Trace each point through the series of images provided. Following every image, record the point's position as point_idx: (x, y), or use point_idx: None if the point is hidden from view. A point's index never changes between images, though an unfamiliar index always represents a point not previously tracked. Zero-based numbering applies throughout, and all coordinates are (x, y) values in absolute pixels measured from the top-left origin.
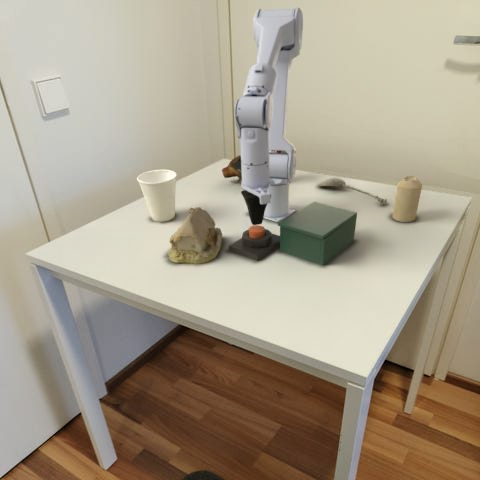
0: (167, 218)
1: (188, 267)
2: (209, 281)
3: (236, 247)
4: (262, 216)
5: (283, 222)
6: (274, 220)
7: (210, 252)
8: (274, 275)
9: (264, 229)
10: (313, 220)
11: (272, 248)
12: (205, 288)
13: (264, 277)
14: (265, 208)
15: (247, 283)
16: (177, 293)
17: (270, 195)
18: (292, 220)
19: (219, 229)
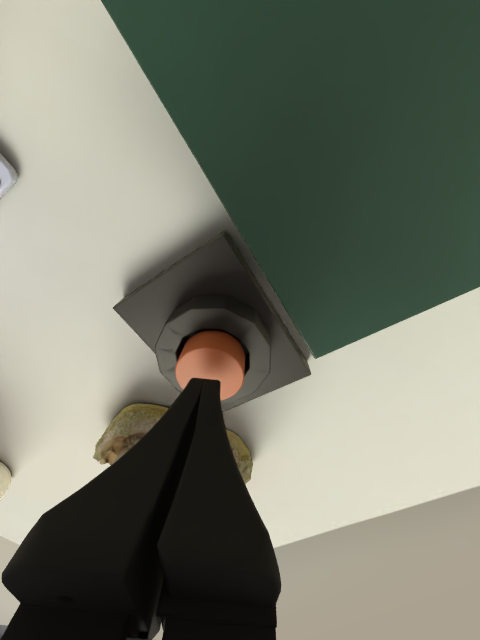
0: (2, 473)
1: (255, 478)
2: (334, 465)
3: (233, 404)
4: (221, 410)
5: (332, 332)
6: (5, 189)
7: (237, 458)
8: (412, 347)
9: (227, 353)
10: (452, 80)
11: (268, 302)
12: (356, 475)
13: (401, 373)
14: (228, 447)
15: (397, 413)
16: (341, 507)
17: (265, 577)
18: (336, 267)
19: (125, 430)
